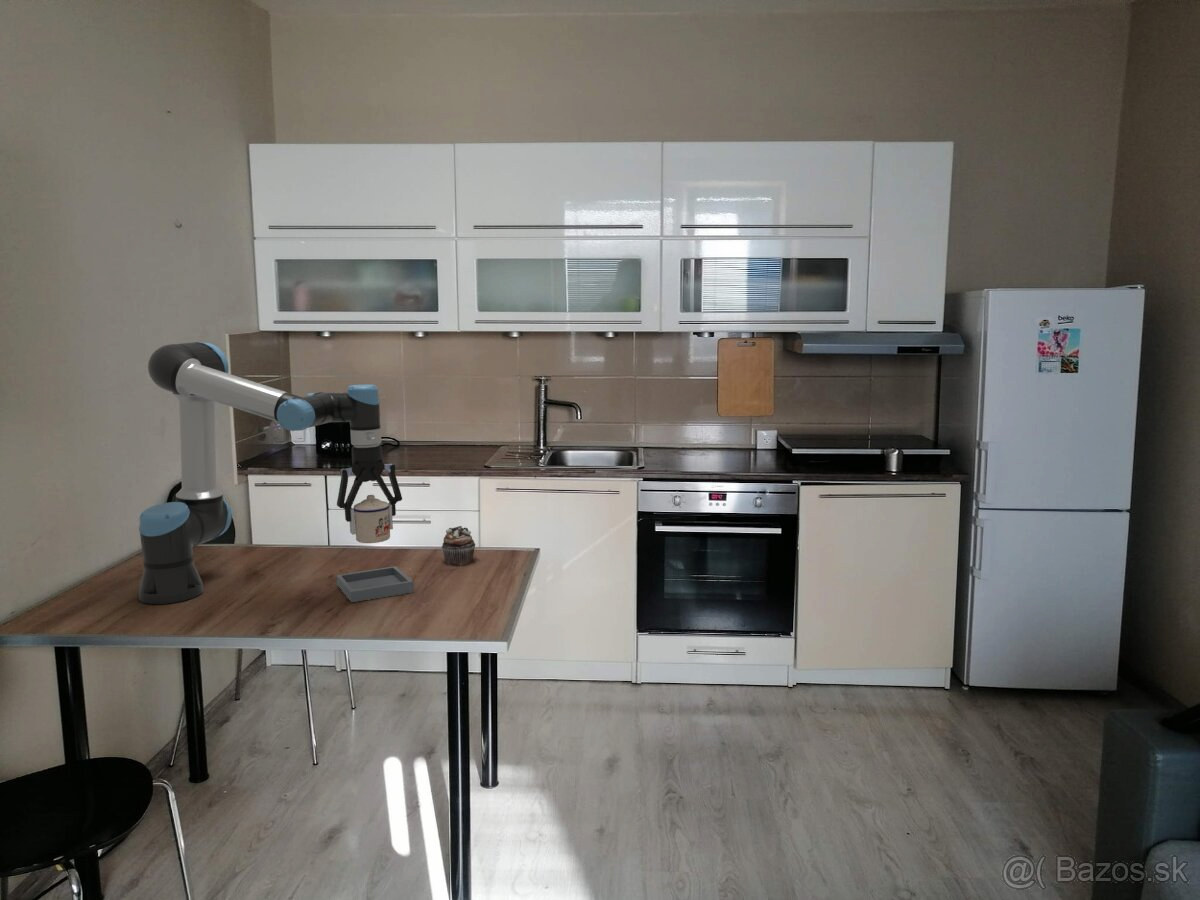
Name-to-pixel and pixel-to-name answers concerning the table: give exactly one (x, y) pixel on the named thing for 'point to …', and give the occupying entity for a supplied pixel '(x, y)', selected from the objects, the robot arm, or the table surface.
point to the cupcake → (458, 546)
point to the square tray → (374, 584)
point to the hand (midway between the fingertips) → (371, 530)
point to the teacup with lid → (372, 520)
